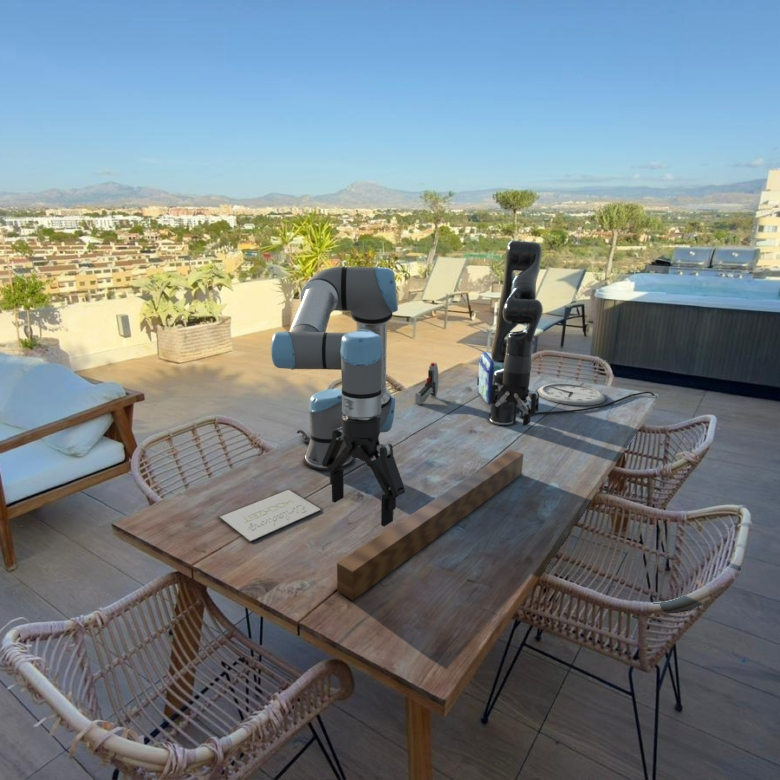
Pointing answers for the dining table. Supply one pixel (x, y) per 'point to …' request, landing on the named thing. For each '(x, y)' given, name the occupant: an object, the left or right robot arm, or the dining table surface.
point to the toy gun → (429, 385)
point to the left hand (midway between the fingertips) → (361, 511)
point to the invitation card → (269, 514)
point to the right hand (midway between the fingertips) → (512, 421)
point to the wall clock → (571, 394)
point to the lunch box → (487, 375)
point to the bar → (423, 526)
